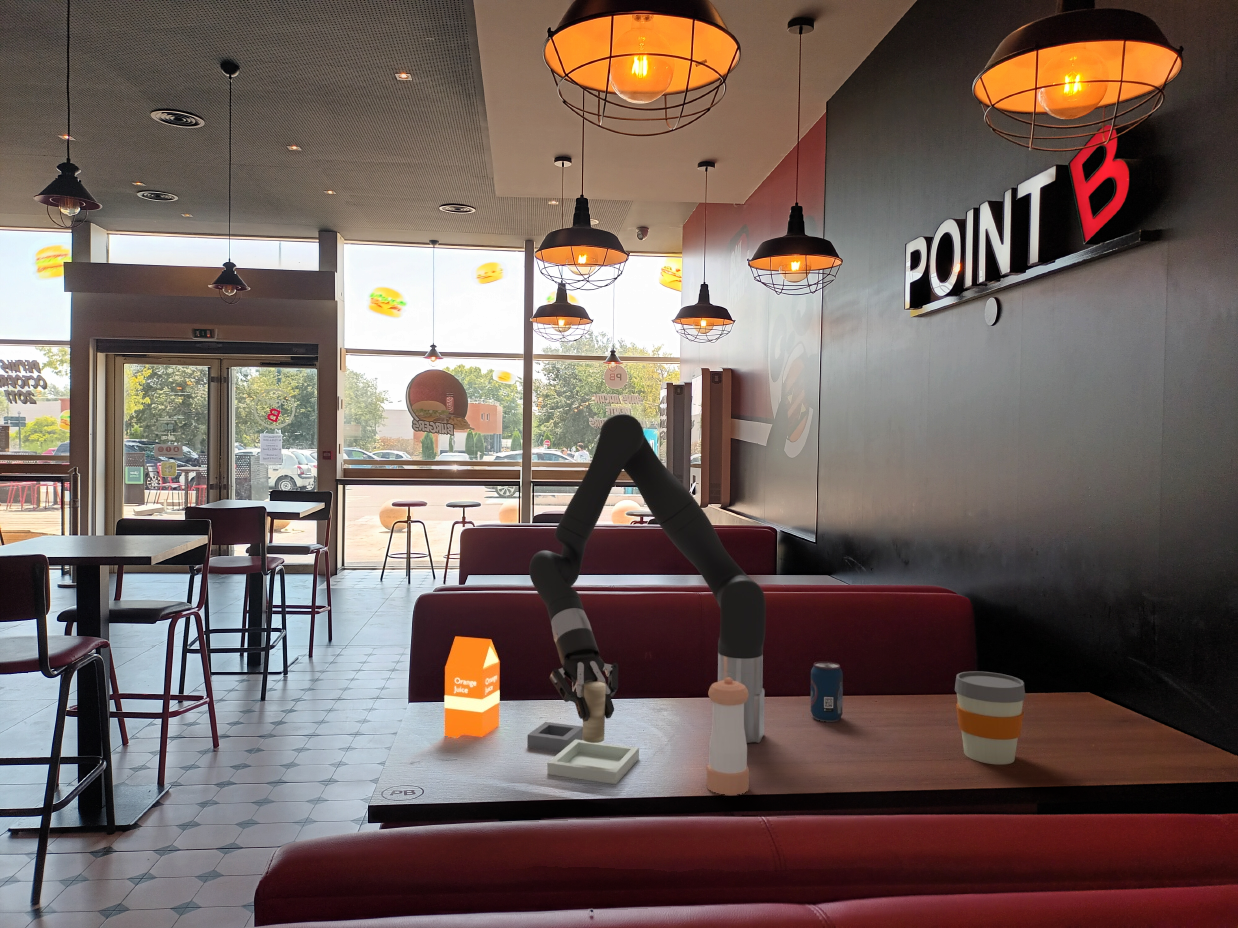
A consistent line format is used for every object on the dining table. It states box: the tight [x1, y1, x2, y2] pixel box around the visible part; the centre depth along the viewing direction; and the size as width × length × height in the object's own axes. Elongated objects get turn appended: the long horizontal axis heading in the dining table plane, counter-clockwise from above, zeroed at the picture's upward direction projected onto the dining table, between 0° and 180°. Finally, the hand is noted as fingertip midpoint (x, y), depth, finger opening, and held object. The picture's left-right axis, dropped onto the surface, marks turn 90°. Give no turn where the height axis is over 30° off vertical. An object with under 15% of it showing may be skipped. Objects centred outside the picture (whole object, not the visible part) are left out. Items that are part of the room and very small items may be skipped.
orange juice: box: [444, 636, 501, 739], centre depth 166 cm, size 8×9×20 cm
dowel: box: [582, 682, 607, 743], centre depth 146 cm, size 4×4×10 cm
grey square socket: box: [526, 721, 583, 753], centre depth 158 cm, size 8×8×4 cm
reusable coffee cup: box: [954, 670, 1026, 765], centre depth 156 cm, size 13×13×15 cm
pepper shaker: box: [706, 677, 750, 796], centre depth 139 cm, size 7×7×19 cm
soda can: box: [810, 661, 844, 723], centre depth 178 cm, size 7×7×12 cm
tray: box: [546, 739, 640, 785], centre depth 146 cm, size 13×13×3 cm
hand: (598, 717), depth 144 cm, fingers closed on dowel, 4 cm apart
